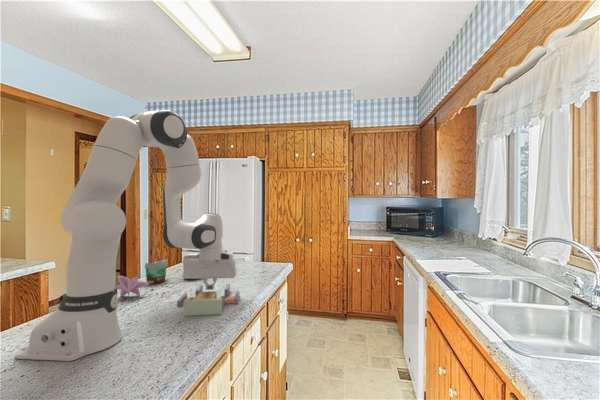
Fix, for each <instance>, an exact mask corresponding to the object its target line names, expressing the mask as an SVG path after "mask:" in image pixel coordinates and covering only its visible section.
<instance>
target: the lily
mask: <svg viewBox="0 0 600 400" xmlns="http://www.w3.org/2000/svg"><path fill="white" fill-rule="evenodd" d="M117 279H118V282H119V284H118V285H117V284H116V287H117V290H119V291H120V297H123V296H126V295H127V302H129V301H130V300H129V299H130V293H132V294H134V295H137V296H140V295H141V291H140V289H141V288H143V287H147V286H149V283H147V281H139V279H140V278H139V276H135V277H133V278H131V279H130V278H129V277H126V276H124V275H117Z"/></svg>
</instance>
